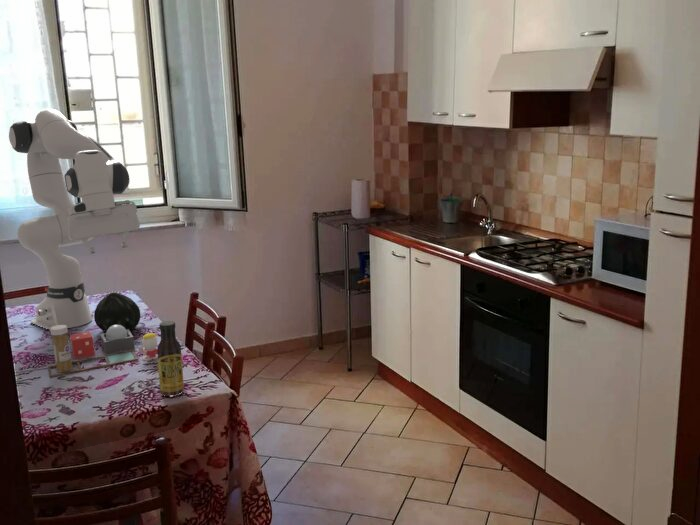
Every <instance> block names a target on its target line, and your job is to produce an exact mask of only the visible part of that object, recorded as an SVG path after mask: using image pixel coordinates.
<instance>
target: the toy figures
mask: <svg viewBox="0 0 700 525" xmlns="http://www.w3.org/2000/svg"><path fill="white" fill-rule="evenodd" d="M141 339H142V342H141V343H142V346H141V345H138V346H137V349H138V351H139V353H141V354H142V355H143V356H144V357H142V361H145V362H149V361H151V360H156V359H157V360H158V350H157V348H158V346H157V345H158V338H157V334H156V333H152V332H148V333H146V334H144V335H143V336H141Z"/></svg>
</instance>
